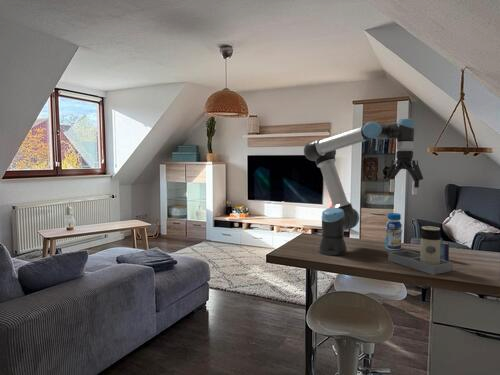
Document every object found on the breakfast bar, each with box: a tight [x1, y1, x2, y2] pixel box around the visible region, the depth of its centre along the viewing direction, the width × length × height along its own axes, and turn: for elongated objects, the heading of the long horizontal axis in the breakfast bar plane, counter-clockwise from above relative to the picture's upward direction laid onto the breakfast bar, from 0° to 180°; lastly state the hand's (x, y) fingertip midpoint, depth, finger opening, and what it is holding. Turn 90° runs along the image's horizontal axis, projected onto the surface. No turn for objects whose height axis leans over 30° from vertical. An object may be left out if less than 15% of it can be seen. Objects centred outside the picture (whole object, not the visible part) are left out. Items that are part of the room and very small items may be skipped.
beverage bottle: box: [385, 212, 403, 251], centre depth 186 cm, size 8×8×20 cm
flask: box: [440, 237, 450, 262], centre depth 165 cm, size 9×3×11 cm, turn 24°
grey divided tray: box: [387, 249, 453, 276], centre depth 156 cm, size 24×13×4 cm, turn 25°
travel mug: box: [419, 225, 442, 266], centre depth 150 cm, size 8×8×18 cm
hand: (402, 193), depth 165 cm, fingers open, 13 cm apart
